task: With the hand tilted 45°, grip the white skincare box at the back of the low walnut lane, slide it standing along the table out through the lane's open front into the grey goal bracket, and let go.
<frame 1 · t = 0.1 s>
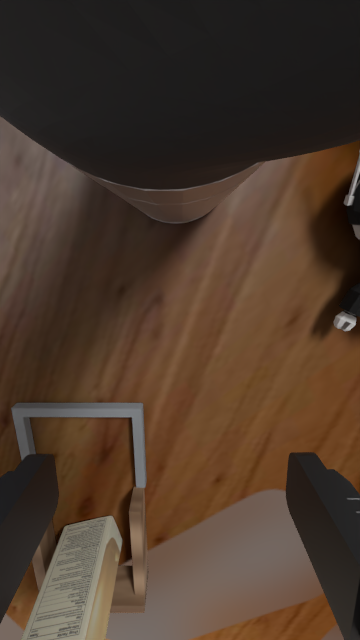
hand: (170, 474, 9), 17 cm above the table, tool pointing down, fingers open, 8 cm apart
skincare box: (95, 530, 34), on the table
goal bracket: (85, 450, 30), on the table
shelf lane: (95, 532, 34), on the table
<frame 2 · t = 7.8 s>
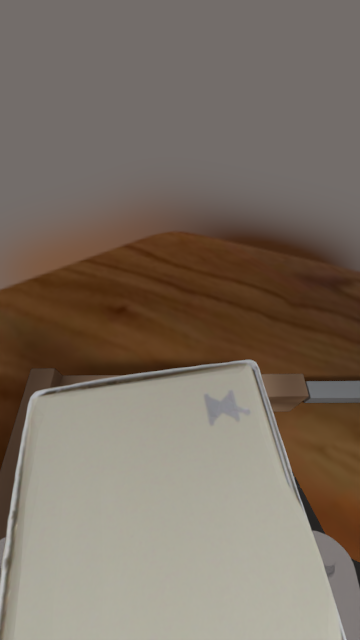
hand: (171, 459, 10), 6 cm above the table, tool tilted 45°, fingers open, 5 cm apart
skincare box: (174, 517, 14), on the table, touching gripper
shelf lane: (171, 513, 14), on the table
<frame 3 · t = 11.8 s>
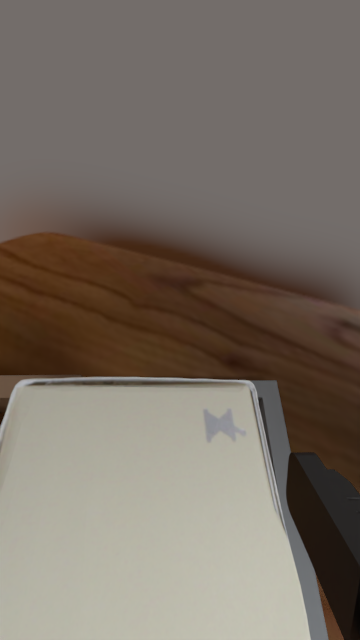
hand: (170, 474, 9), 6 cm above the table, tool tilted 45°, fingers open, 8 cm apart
skincare box: (112, 526, 13), on the table, touching gripper
goal bracket: (176, 512, 14), on the table
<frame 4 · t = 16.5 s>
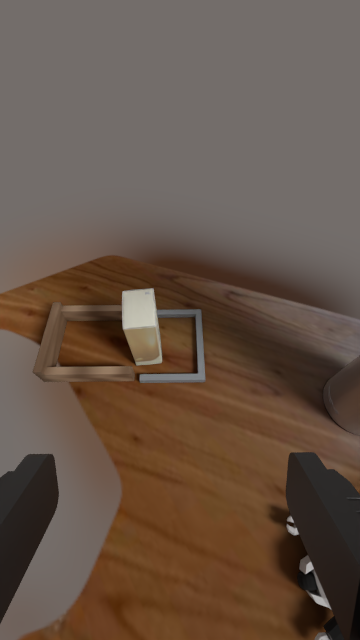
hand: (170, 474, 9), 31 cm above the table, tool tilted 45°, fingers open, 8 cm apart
skincare box: (148, 349, 46), on the table
robot toy: (355, 567, 31), on the table
goal bracket: (166, 345, 46), on the table
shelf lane: (95, 345, 46), on the table
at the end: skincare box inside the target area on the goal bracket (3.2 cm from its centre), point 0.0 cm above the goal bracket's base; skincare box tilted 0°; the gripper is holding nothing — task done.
